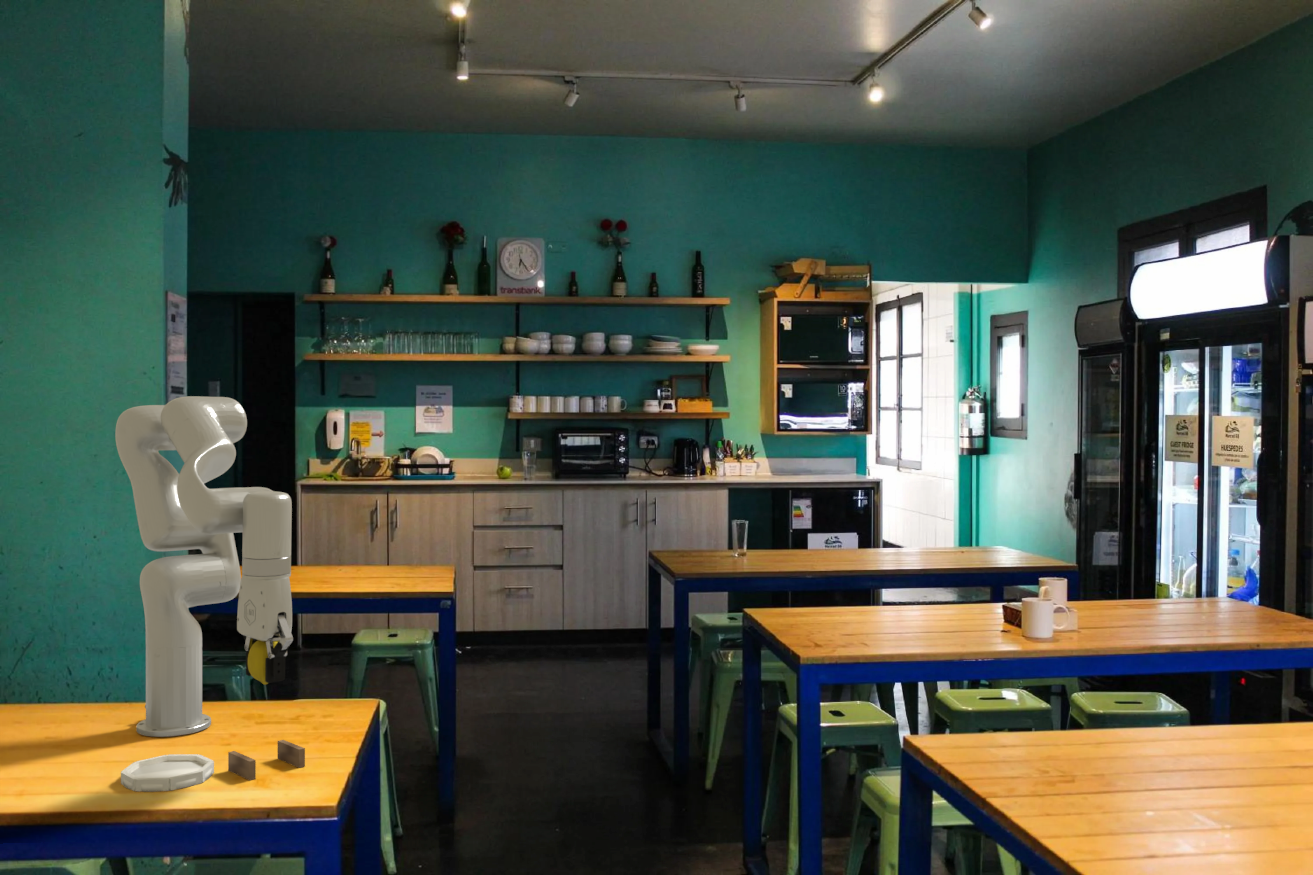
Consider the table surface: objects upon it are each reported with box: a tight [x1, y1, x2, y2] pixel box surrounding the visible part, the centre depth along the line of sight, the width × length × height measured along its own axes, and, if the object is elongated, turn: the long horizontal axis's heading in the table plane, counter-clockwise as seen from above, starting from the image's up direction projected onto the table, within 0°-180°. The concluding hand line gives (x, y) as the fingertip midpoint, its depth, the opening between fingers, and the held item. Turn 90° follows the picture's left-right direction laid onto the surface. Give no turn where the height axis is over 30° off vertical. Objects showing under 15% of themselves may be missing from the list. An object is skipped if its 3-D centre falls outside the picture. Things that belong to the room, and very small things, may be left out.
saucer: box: [120, 753, 215, 793], centre depth 174 cm, size 13×13×2 cm
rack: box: [227, 739, 306, 781], centre depth 179 cm, size 7×10×3 cm
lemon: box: [248, 640, 279, 686], centre depth 179 cm, size 6×6×8 cm
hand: (265, 676), depth 179 cm, fingers closed on lemon, 5 cm apart
